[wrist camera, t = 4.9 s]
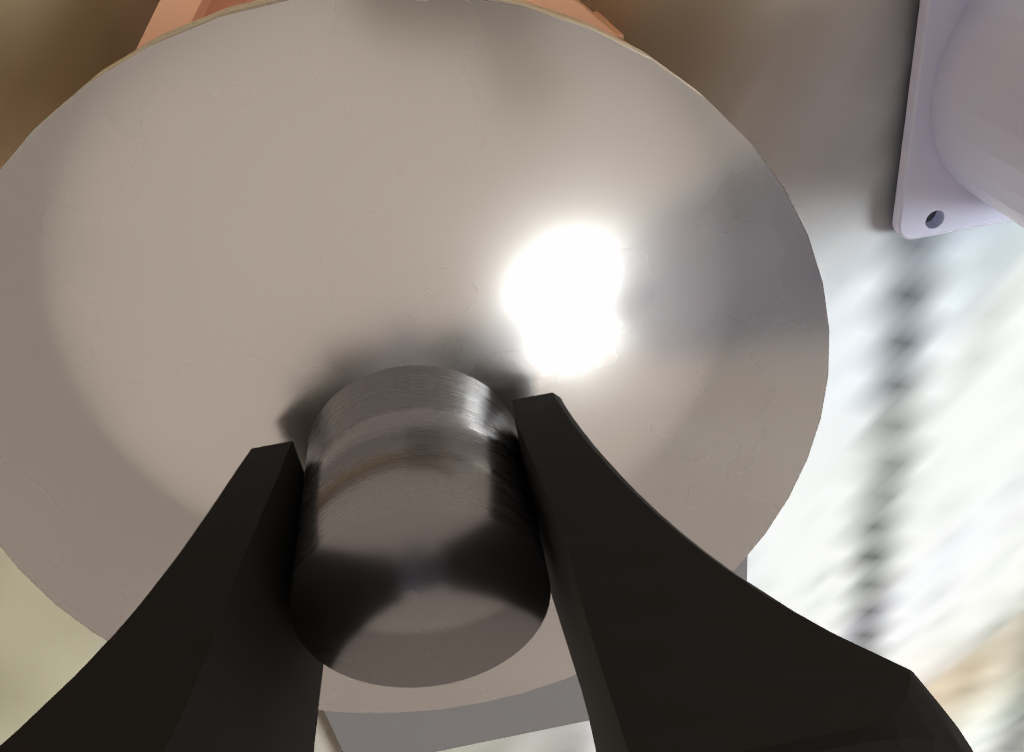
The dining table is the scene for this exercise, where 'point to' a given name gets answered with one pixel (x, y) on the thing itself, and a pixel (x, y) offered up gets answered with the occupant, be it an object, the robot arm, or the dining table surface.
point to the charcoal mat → (466, 719)
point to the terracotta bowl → (191, 3)
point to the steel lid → (392, 321)
